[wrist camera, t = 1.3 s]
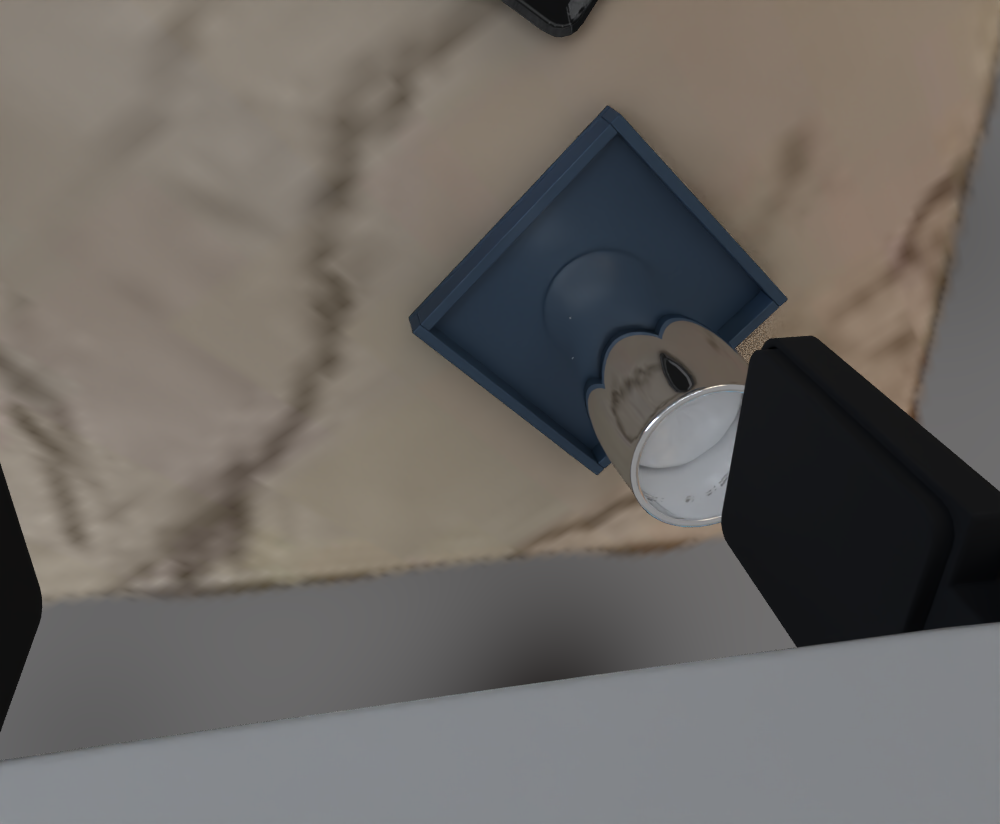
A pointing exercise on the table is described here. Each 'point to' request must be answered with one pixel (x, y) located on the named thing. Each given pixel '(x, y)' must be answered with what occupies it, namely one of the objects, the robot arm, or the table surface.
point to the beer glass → (650, 384)
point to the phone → (554, 14)
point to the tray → (566, 236)
